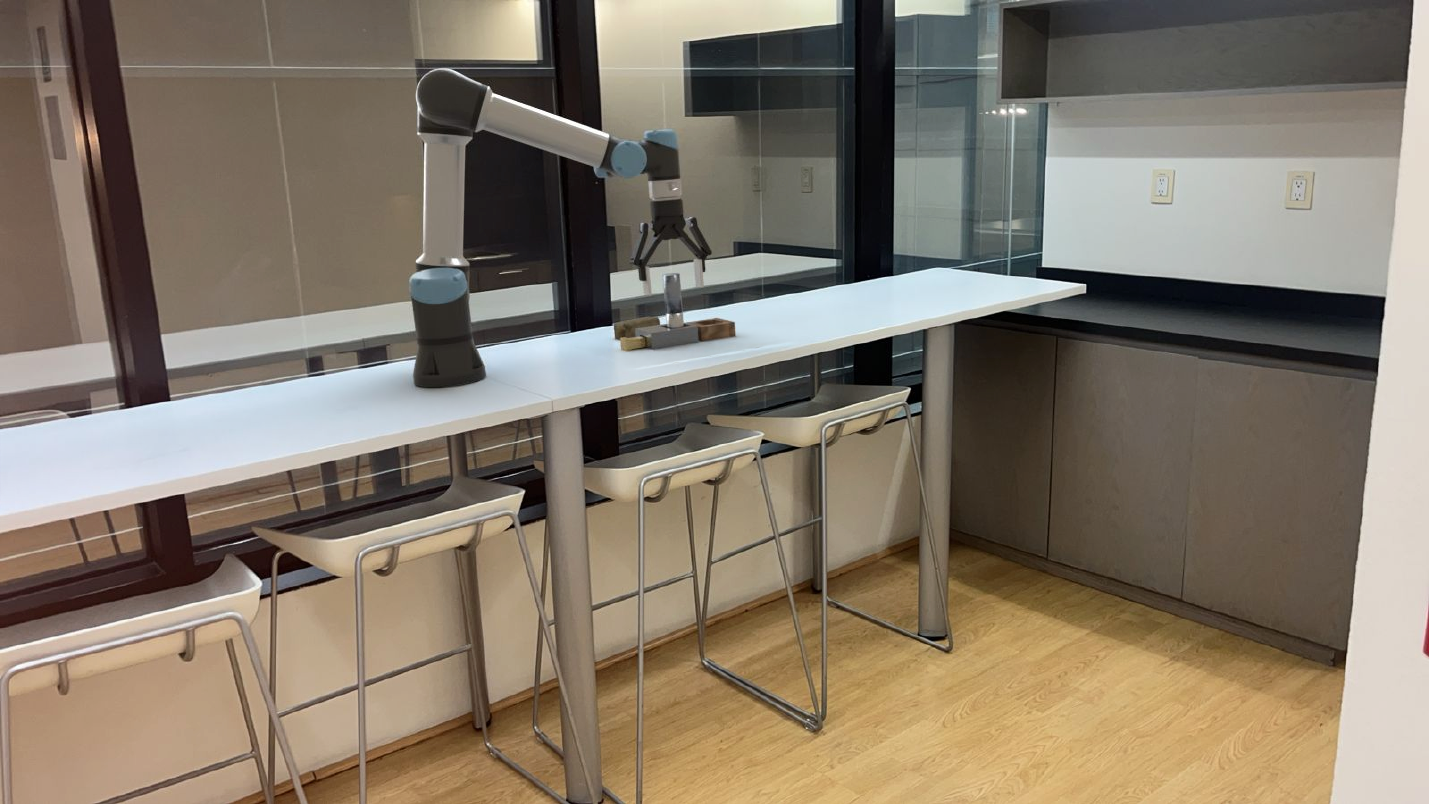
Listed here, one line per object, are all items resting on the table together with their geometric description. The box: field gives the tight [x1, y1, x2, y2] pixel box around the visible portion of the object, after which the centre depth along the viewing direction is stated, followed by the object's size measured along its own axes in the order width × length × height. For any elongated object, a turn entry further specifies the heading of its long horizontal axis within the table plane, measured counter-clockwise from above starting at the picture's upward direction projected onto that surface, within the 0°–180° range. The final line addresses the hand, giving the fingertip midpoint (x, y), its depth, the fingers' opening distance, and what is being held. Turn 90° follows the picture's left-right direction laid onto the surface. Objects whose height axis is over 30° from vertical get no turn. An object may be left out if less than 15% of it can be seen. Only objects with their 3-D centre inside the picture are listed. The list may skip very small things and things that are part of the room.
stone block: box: [613, 316, 661, 341], centre depth 262 cm, size 6×12×5 cm, turn 133°
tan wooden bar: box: [619, 336, 647, 352], centre depth 246 cm, size 9×3×3 cm, turn 118°
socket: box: [635, 322, 700, 351], centre depth 249 cm, size 12×9×4 cm
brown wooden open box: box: [685, 317, 736, 342], centre depth 254 cm, size 9×9×4 cm
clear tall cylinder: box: [662, 272, 685, 329], centre depth 249 cm, size 4×4×16 cm
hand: (674, 290), depth 248 cm, fingers open, 13 cm apart
